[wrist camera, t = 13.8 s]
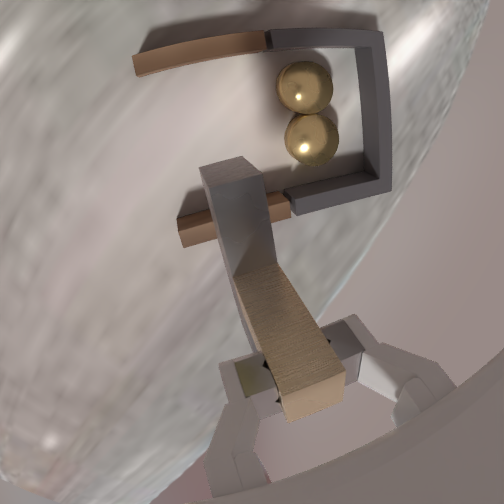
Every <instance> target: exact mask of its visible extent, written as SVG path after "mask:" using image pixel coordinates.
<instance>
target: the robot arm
mask: <svg viewBox="0 0 504 504" xmlns="http://www.w3.org/2000/svg"><path fill="white" fill-rule="evenodd" d="M320 330H321V331H322V333H323V334H324V336H325V338H326V339H327V341H328V342H329V344H330V345H331V347H332V349H333V350H334V352H335V353H336V355H337V357H338V358H339V360H340V361H341V363H342V365H343V366H344V368H345V369H346V378H345V386H346V385H349V384H351V383H353V382H356V381H358V382H359V383H361V384H363V385H365V386H366V387H368V388H370V389H372V390H374V391H376V392H377V393H379V394H381V395H383V396H385V397H387V398H389V399H391V400H393V401H394V402H396V405H395V408H394V410H393V412H392V414H391V419H392V420H393V422H394V424H395V425H396V427H397V428H395V429H393V430H392V431H390V432H388V433H386V434H385V435H383V436H381V437H379V438H377V439H375V440H374V441H372V442H370V443H368V444H366V445H364V446H362V447H360V448H358V449H356V450H354V451H351V452H349V453H347V454H345V455H343V456H341V457H338V458H336V459H334V460H332V461H329V462H327V463H324V464H322V465H320V466H318V467H315V468H312V469H310V470H307V471H305V472H302V473H299V474H296V475H294V476H291V477H288V478H285V479H282V480H279V481H276V482H273V483H272V482H271V480H270V478H269V475H268V472H267V470H266V469H265V467H264V465H263V464H262V462H261V461H260V459H259V457H258V455H257V454H256V453H255V452H253V449H254V445H255V441H256V437H257V433H258V429H259V424H260V420H261V419H264V418H267V417H269V416H272V415H275V414H277V413H280V412H282V407H281V403H280V401H279V395H278V391H277V387H276V384H275V382H274V380H273V377H272V375H271V372H270V370H268V369H267V365H266V361H265V358H264V356H263V354H262V352H261V351H258V352H254V353H251V354H248V355H245V356H241V357H238V358H234V359H231V360H228V361H225V362H221V363H219V370H220V374H221V377H222V381H223V384H224V388H225V391H226V394H227V398H228V401H229V403H228V404H225V406H224V409H223V411H222V414H221V417H220V419H219V422H218V425H217V427H216V430H215V433H214V435H213V438H212V441H211V443H210V446H209V448H208V451H207V454H206V456H205V459H204V461H203V462H204V466H205V470H206V475H207V478H208V482H209V486H210V490H211V493H212V497H213V498H211V499H207V500H202V501H196V502H190V503H184V504H504V349H502V350H501V351H500V352H499V353H498V354H497V355H496V356H495V357H494V358H493V359H491V360H490V361H489V362H488V363H487V364H486V365H484V366H483V367H482V368H481V369H480V370H479V371H477V372H476V373H475V374H474V375H472V377H470V378H469V379H467V380H466V381H465V382H464V383H462V384H461V385H460V386H458V387H456V385H455V384H454V383H453V381H452V380H451V379H450V378H449V376H448V375H447V374H446V373H445V372H444V370H443V369H442V368H441V367H440V365H439V364H438V363H437V362H434V361H432V360H428V359H426V358H423V357H420V356H418V355H415V354H412V353H410V352H407V351H404V350H402V349H399V348H396V347H394V346H391V345H388V344H386V343H380V344H379V343H378V342H377V340H376V339H375V338H374V336H373V335H372V334H371V333H370V331H369V330H368V329H367V328H366V326H365V325H364V324H363V323H362V321H361V320H360V319H359V318H358V316H357V315H355V314H352V315H350V316H348V317H345V318H343V319H340V320H337V321H335V322H333V323H330V324H328V325H326V326H323V327H321V328H320Z"/></svg>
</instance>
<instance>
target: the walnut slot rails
mask: <svg viewBox="0 0 504 504" xmlns="http://www.w3.org/2000/svg"><path fill="white" fill-rule="evenodd" d="M266 49H267V47H266V41H265V36H264V30H261V31H251V32H242V33H234V34H227V35H220V36H214V37H208V38H202V39H197V40H192V41H187V42H183V43H178V44H174V45H169V46H165V47H161V48H157V49H154V50H150V51H146V52H143V53H139V54H136V55H133V56H132V59H133V64H134V68H135V73H136V76H137V77H142V76H146V75H149V74H153V73H156V72H160V71H164V70H168V69H172V68H176V67H180V66H184V65H189V64H193V63H198V62H203V61H208V60H213V59H219V58H225V57H231V56H237V55H244V54H252V53H258V52H261V51H263V50H266ZM266 197H267V203H268V209H269V215H270V221H271V223H273V222H277V221H281V220H284V219H288V218H291V211H290V202H289V200H288V199H287V198H286V197H285V196H283V195H282V194H281V193H280V192H279V191H276V192H272V193H268V194H266ZM177 226H178V232H179V236H180V239H181V242H182V245H183V248H186V247H189V246H193V245H196V244H200V243H203V242H206V241H210V240H213V239H217V234H216V231H215V227H214V223H213V220H212V216H211V212H210V209H208V210H205V211H201V212H198V213H194V214H191V215H187V216H184V217H180V218H177Z"/></svg>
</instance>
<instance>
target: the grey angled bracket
mask: <svg viewBox="0 0 504 504" xmlns="http://www.w3.org/2000/svg"><path fill="white" fill-rule="evenodd" d="M264 36H265V41H266V47H267V49H266V50H263V52H269V51H280V50H293V49H312V48H355V55H356V63H357V71H358V79H359V89H360V100H361V112H362V126H363V144H364V171H363V172H358V173H354V174H349V175H344V176H340V177H335V178H331V179H326V180H322V181H318V182H313V183H309V184H305V185H301V186H296V187H292V188H288V189H284V194H285V197H286V198H287V199H288V200H289V202H290V210H291V211H292V212H293V213H294V214H295V215H296V216H299V215H303V214H306V213H310V212H314V211H317V210H321V209H325V208H329V207H332V206H336V205H340V204H344V203H348V202H351V201H355V200H359V199H363V198H367V197H371V196H375V195H379V194H382V193H386V192H390V191H392V124H391V104H390V90H389V78H388V68H387V59H386V51H385V43H384V36H383V32H380V31H370V30H358V29H339V28H293V29H274V30H269V31H267V32H265V33H264Z"/></svg>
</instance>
